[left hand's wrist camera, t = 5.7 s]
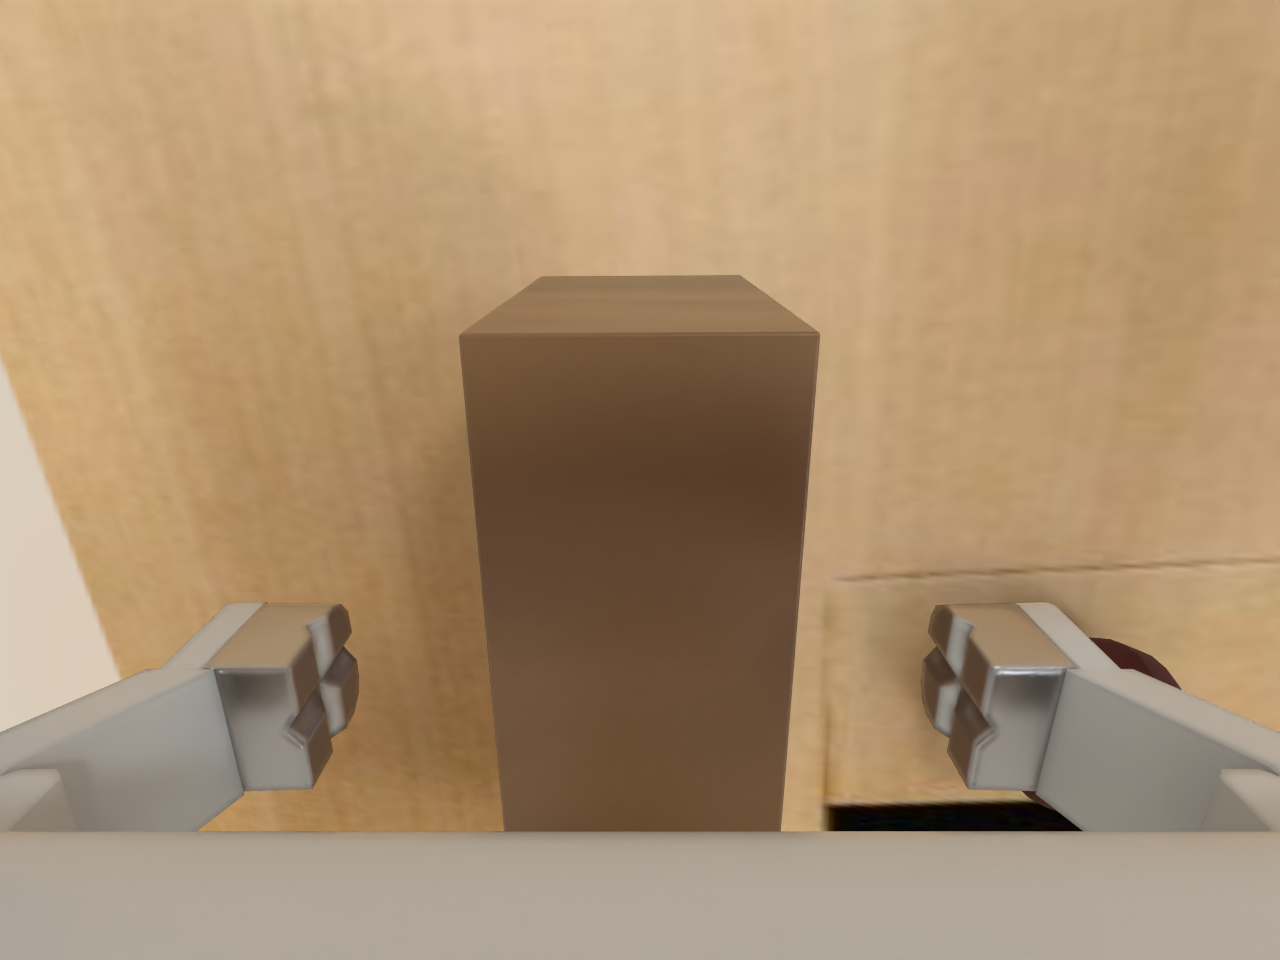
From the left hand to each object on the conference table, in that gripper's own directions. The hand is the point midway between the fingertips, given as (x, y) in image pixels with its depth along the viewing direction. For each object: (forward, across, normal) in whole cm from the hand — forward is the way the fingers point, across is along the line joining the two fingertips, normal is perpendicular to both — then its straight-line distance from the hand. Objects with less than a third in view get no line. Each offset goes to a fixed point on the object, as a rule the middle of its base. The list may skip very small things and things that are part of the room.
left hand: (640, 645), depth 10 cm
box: (+13, 0, -10) cm, 16 cm away
